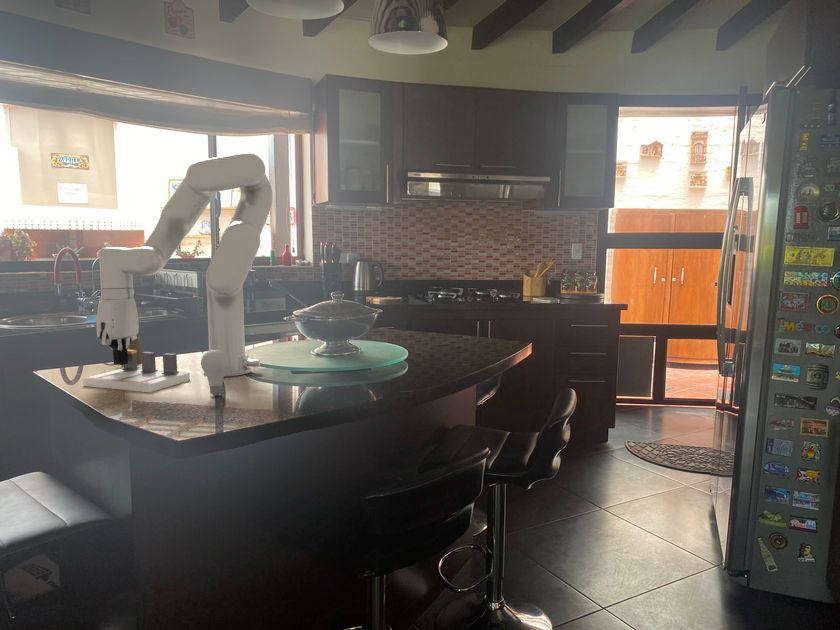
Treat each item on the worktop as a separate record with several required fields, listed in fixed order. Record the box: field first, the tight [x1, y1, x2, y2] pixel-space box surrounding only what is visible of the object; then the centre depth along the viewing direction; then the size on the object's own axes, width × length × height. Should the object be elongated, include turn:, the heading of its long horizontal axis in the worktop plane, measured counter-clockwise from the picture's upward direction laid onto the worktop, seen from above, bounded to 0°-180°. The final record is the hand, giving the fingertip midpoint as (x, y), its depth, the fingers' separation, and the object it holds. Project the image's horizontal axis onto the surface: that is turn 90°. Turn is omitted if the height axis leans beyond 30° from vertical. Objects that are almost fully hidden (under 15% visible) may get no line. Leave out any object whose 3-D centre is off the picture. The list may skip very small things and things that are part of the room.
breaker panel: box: [82, 367, 191, 393], centre depth 152 cm, size 14×21×2 cm, turn 71°
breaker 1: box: [140, 351, 158, 373], centre depth 155 cm, size 3×3×5 cm
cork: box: [127, 329, 142, 365], centre depth 178 cm, size 6×6×11 cm
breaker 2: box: [162, 352, 180, 375], centre depth 153 cm, size 3×3×5 cm
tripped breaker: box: [121, 350, 140, 371], centre depth 158 cm, size 3×3×5 cm
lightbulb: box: [200, 350, 228, 397], centre depth 138 cm, size 6×6×11 cm
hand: (120, 364), depth 155 cm, fingers closed
